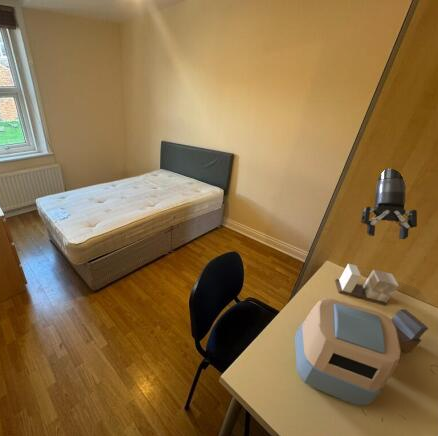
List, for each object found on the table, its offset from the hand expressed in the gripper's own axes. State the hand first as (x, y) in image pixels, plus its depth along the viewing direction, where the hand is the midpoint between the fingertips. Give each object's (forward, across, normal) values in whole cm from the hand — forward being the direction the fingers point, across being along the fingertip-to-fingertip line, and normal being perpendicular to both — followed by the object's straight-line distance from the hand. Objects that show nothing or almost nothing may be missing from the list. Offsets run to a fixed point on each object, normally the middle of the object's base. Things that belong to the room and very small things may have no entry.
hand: (386, 237), depth 82 cm
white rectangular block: (+21, -7, +11) cm, 24 cm away
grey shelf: (+35, -5, -8) cm, 37 cm away
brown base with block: (+22, -2, +12) cm, 25 cm away
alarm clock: (+43, -22, -22) cm, 53 cm away
